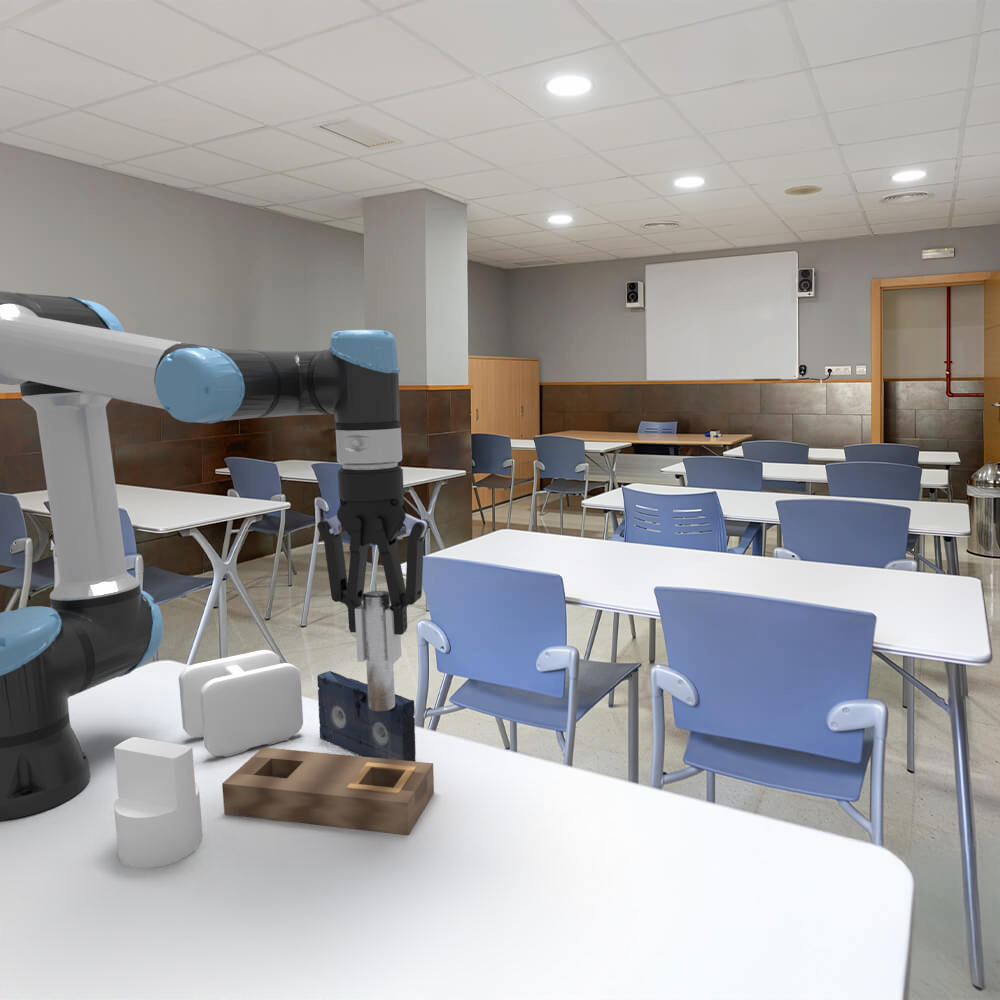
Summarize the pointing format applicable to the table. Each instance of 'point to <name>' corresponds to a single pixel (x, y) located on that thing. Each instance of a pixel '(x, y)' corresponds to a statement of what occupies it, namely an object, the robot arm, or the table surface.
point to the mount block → (330, 790)
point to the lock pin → (378, 652)
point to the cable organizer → (241, 702)
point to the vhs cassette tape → (364, 720)
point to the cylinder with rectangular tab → (156, 803)
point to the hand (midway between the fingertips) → (379, 658)
